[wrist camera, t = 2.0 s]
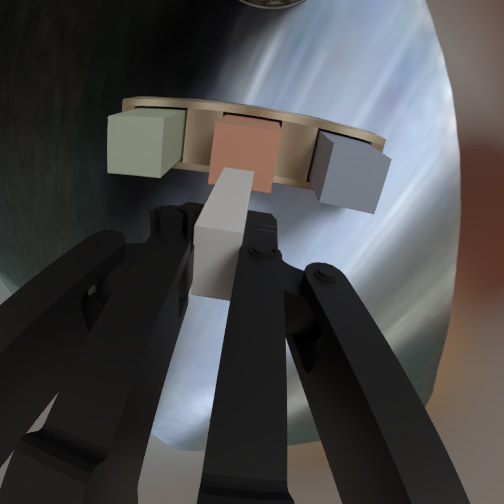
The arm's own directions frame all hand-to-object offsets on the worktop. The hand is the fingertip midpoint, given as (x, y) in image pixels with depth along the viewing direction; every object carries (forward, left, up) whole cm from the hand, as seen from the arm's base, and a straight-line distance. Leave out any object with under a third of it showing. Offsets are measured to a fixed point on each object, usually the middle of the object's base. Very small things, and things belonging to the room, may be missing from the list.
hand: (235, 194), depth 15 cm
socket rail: (0, 0, -18) cm, 18 cm away
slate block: (+9, 0, -15) cm, 17 cm away
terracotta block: (0, 0, -15) cm, 15 cm away
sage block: (-9, 0, -15) cm, 17 cm away
